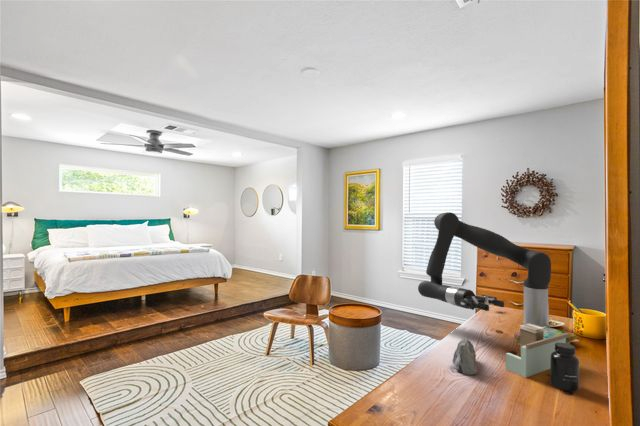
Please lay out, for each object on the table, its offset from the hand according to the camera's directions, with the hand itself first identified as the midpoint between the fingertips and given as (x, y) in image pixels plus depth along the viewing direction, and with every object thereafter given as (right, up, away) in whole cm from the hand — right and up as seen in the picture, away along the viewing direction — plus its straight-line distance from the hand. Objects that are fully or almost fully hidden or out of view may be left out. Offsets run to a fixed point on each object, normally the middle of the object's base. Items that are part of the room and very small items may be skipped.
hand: (496, 306), depth 125 cm
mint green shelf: (+6, -16, -13) cm, 21 cm away
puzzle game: (+22, -17, +6) cm, 28 cm away
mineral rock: (-16, -16, -14) cm, 27 cm away
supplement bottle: (+6, -16, -26) cm, 31 cm away
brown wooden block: (+6, -16, -12) cm, 20 cm away
